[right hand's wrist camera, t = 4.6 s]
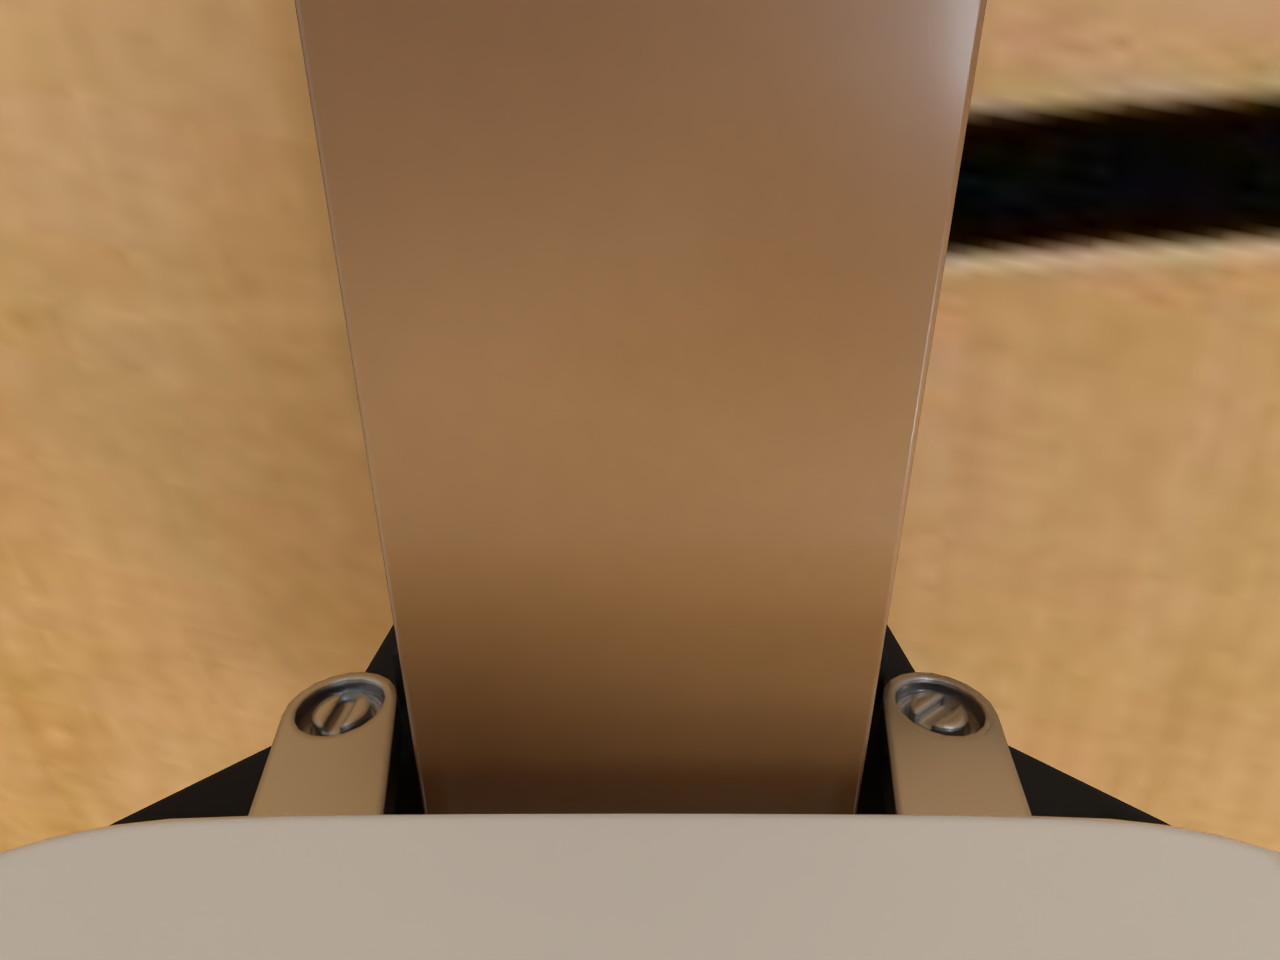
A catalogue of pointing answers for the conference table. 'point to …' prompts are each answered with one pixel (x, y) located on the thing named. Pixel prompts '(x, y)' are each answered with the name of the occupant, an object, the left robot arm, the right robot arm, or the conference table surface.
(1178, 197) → the conference table surface
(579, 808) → the beam
